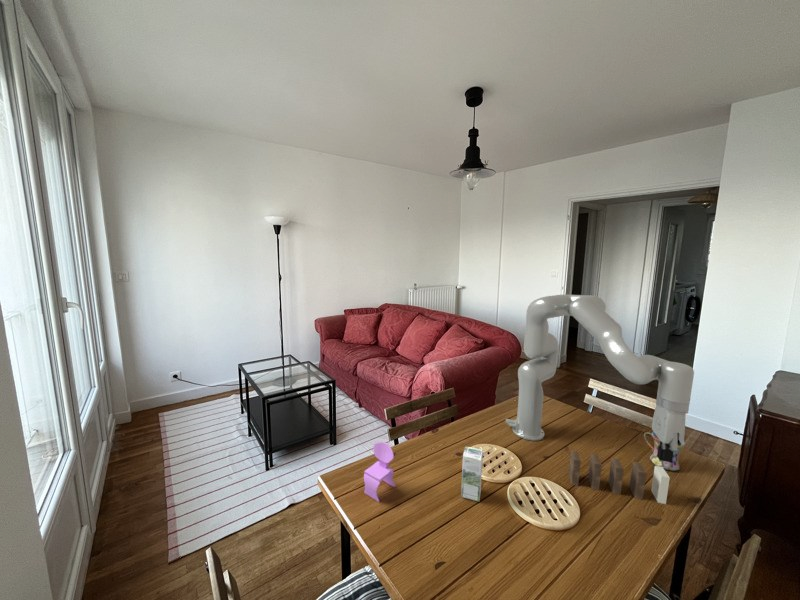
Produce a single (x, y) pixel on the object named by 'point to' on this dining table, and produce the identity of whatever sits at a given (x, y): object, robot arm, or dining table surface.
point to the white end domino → (660, 484)
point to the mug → (666, 465)
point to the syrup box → (472, 473)
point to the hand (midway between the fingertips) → (664, 459)
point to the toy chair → (379, 470)
